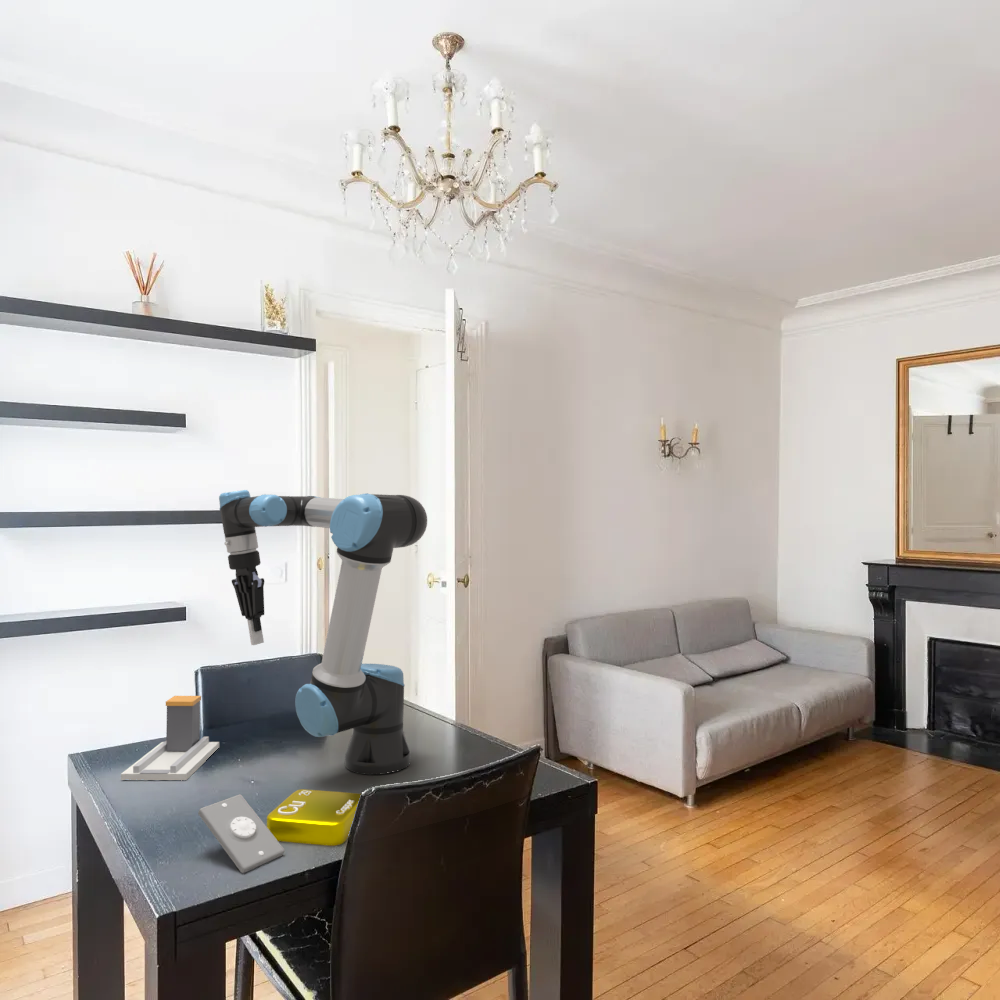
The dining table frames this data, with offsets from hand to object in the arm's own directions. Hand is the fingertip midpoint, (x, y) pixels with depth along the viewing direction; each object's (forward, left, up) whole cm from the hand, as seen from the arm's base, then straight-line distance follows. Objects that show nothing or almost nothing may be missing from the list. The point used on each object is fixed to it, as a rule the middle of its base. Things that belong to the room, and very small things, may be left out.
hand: (257, 643), depth 193 cm
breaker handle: (0, +17, -23) cm, 29 cm away
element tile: (-55, +3, -26) cm, 61 cm away
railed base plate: (-6, +20, -25) cm, 33 cm away
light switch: (-60, +18, -25) cm, 67 cm away
